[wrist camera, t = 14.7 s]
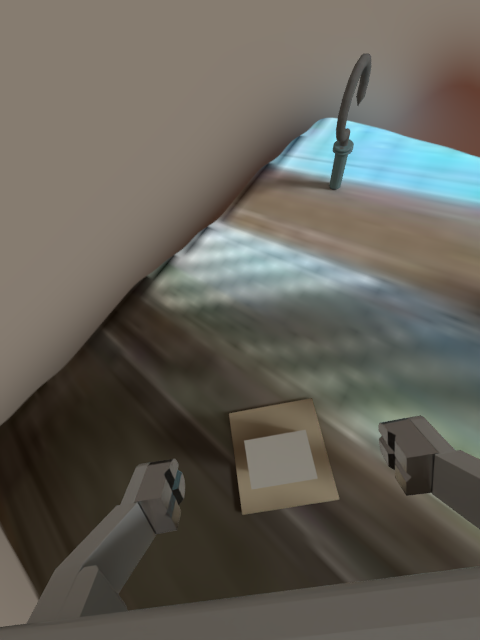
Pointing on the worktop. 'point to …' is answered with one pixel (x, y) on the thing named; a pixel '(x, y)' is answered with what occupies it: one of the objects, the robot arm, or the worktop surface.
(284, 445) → the grey rectangular block
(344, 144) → the hook
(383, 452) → the robot arm
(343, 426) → the worktop surface
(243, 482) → the tan base plate
